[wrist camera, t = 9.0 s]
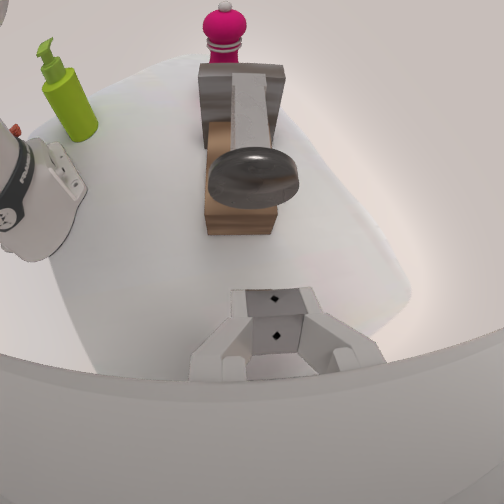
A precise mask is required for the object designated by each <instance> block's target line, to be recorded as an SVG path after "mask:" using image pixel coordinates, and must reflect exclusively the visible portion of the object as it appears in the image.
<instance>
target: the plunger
mask: <svg viewBox="0 0 504 504" xmlns="http://www.w3.org/2000/svg"><path fill="white" fill-rule="evenodd" d="M266 89H267V83H266V75H265V74H256V73H232V102H231V145H230V151H229V152H227V153H225V154H223V155H221V156H219V157H218V158H217V159H216V160H215V161H213V163H212V164H211V166H210V168H209V173H208V192H209V194H210V196H211V197H212V198H213V199H214V200H215V201H217V202H219V203H221V204H223V205H225V206H229V207H233V208H238V209H263V208H269V207H273V206H276V205H279V204H282V203H284V202H286V201H288V200H289V199H291V198H292V197H293V196H294V195H295V194H296V193H297V191H298V189H299V179H298V172H297V167H296V164H295V162H294V161H293V159H291V158H290V157H289V156H288V155H286V154H285V153H283V152H281V151H278V150H275V149H271V147H270V137H269V127H268V117H267V108H266V99H265V95H266Z"/></svg>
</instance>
